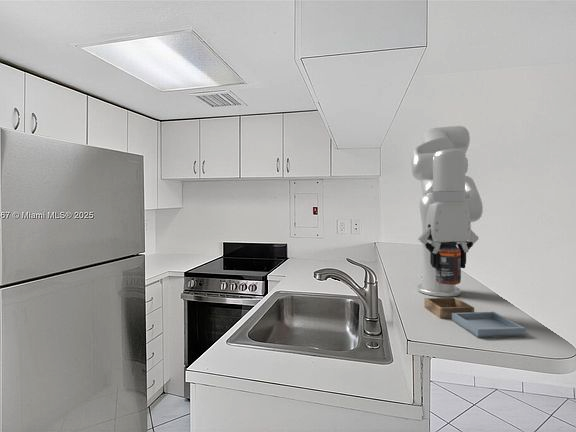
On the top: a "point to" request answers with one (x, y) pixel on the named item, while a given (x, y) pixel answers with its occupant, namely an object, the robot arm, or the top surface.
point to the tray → (488, 325)
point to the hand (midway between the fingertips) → (448, 266)
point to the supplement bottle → (449, 264)
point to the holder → (447, 306)
